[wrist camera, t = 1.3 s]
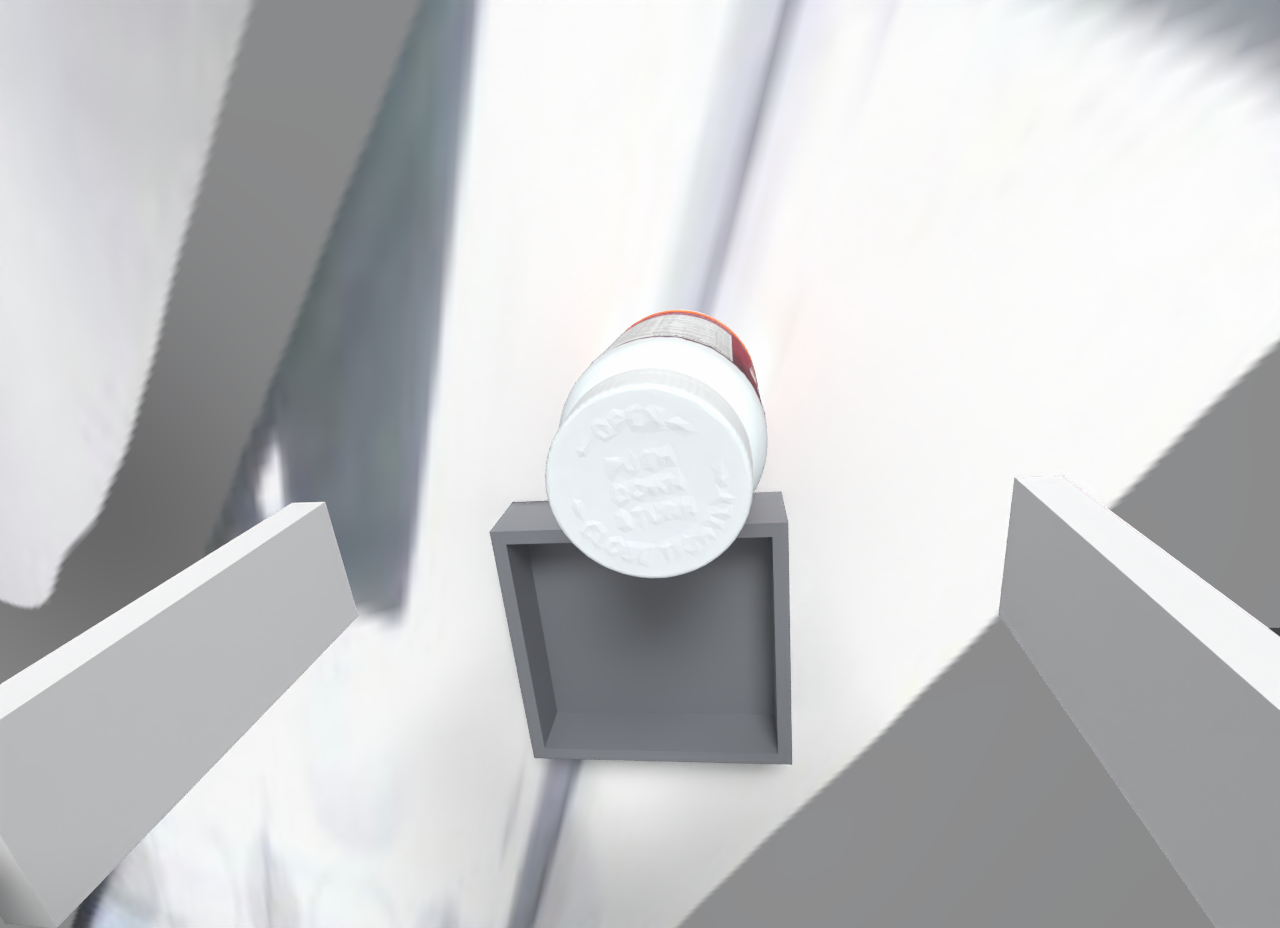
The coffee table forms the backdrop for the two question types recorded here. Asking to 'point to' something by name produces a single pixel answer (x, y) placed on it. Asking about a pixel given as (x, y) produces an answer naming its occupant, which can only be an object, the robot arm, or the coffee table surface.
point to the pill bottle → (660, 447)
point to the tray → (650, 646)
